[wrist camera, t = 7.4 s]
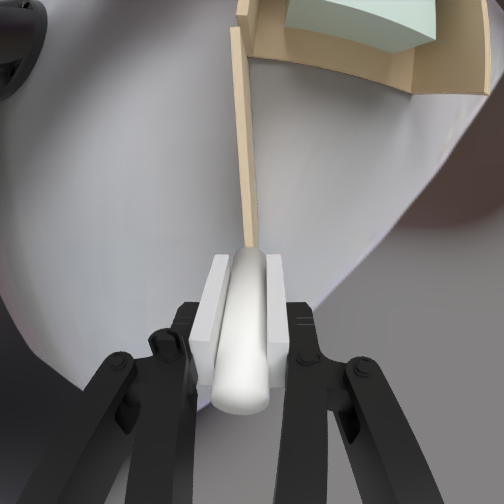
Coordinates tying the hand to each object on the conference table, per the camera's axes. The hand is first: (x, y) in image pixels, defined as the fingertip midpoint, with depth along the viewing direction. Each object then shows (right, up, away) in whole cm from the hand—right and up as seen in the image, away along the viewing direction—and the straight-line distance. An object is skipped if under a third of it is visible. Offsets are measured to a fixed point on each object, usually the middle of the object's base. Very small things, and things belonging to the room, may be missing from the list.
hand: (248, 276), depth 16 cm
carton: (+9, +25, +2) cm, 27 cm away
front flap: (0, +11, +10) cm, 15 cm away
